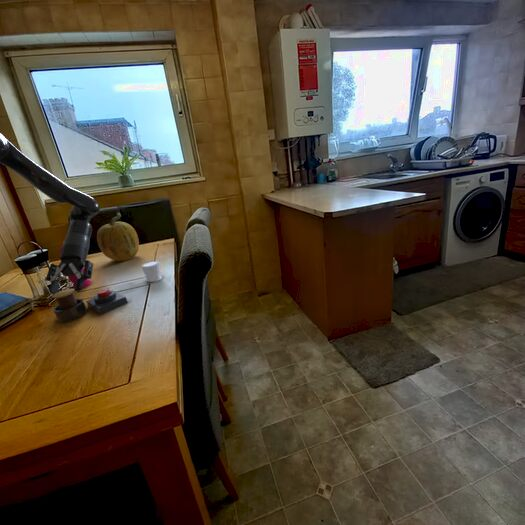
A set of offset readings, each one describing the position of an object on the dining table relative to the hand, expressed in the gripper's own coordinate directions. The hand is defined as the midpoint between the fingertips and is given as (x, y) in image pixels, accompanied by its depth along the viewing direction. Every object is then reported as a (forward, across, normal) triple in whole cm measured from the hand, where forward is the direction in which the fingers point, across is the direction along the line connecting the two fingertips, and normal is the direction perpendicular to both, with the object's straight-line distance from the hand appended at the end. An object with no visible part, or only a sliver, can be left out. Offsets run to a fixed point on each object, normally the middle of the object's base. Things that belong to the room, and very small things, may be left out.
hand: (65, 292), depth 91 cm
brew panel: (+3, +9, +9) cm, 13 cm away
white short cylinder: (-11, +18, +23) cm, 32 cm away
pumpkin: (-35, -12, +47) cm, 60 cm away
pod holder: (+6, 0, +5) cm, 8 cm away
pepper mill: (-12, -14, +24) cm, 30 cm away
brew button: (0, +9, +7) cm, 11 cm away
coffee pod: (+6, 0, +5) cm, 8 cm away
